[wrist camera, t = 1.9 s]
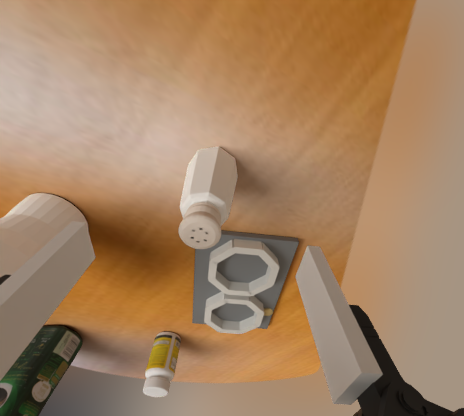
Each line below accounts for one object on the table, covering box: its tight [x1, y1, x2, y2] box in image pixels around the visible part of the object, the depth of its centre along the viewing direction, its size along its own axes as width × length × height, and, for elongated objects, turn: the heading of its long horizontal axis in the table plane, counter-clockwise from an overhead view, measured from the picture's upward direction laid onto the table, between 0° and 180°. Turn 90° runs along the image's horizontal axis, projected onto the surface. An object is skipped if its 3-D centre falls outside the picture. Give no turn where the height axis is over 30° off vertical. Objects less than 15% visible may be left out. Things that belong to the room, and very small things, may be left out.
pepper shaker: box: [179, 146, 238, 249], centre depth 19 cm, size 5×5×11 cm
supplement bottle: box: [143, 332, 181, 397], centre depth 38 cm, size 5×5×8 cm
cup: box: [0, 193, 88, 277], centre depth 21 cm, size 11×11×15 cm
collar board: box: [193, 230, 299, 334], centre depth 32 cm, size 20×13×2 cm, turn 173°
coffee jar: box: [0, 326, 82, 416], centre depth 34 cm, size 10×8×19 cm
